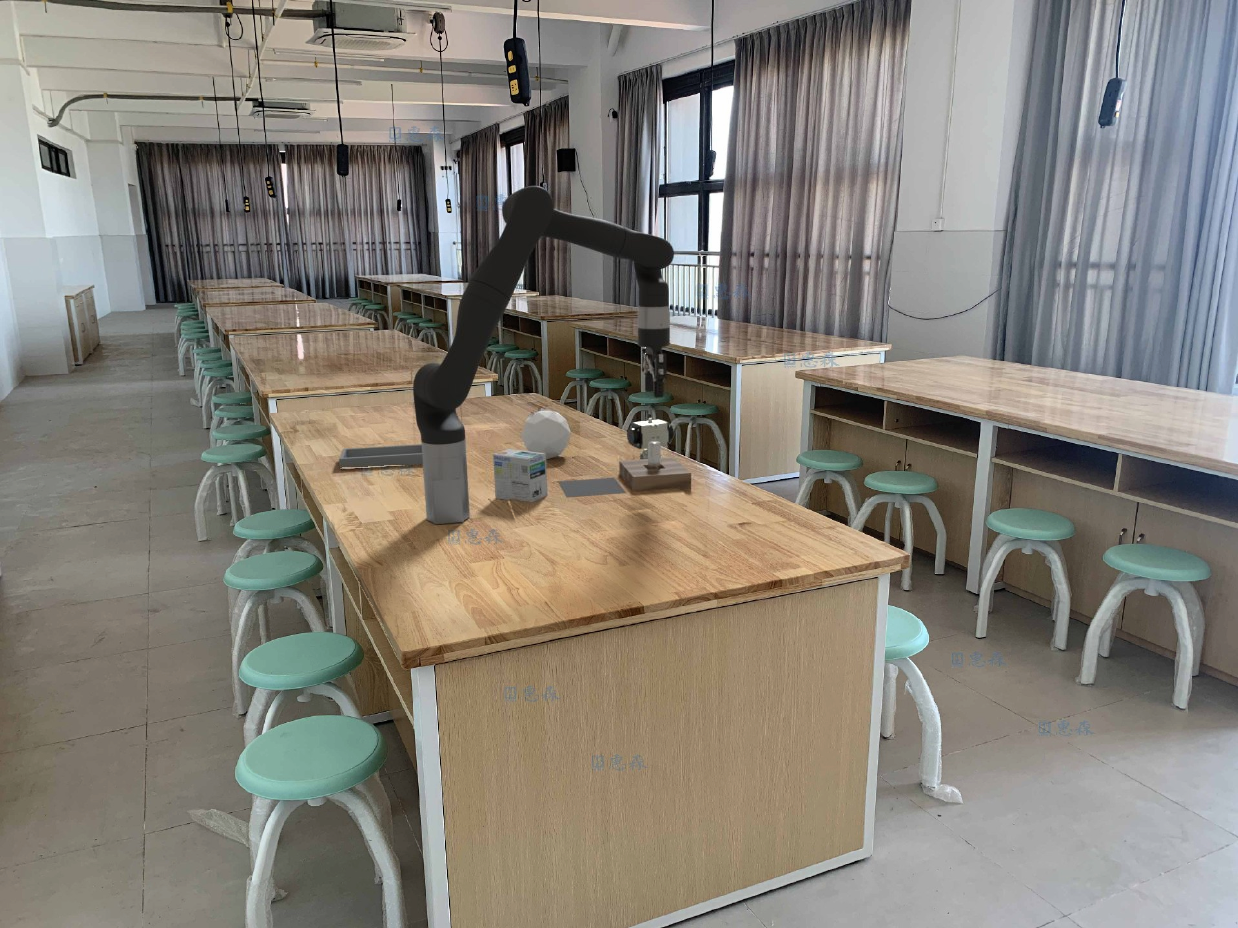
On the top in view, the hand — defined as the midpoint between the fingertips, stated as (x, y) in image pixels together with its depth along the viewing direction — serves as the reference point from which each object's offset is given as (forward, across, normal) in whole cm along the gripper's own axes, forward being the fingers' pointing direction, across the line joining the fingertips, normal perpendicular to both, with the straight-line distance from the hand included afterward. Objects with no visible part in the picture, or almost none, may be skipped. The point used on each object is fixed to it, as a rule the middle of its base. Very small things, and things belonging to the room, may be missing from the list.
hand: (653, 394), depth 215 cm
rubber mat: (+22, -2, +16) cm, 27 cm away
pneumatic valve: (+22, +19, -4) cm, 29 cm away
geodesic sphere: (+22, +33, +22) cm, 45 cm away
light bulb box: (+22, -5, +33) cm, 40 cm away
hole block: (+22, 0, 0) cm, 22 cm away
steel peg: (+22, 0, 0) cm, 22 cm away
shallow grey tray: (+22, +39, +65) cm, 79 cm away
